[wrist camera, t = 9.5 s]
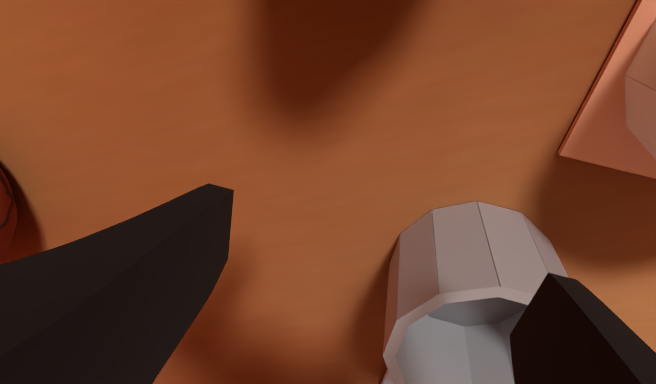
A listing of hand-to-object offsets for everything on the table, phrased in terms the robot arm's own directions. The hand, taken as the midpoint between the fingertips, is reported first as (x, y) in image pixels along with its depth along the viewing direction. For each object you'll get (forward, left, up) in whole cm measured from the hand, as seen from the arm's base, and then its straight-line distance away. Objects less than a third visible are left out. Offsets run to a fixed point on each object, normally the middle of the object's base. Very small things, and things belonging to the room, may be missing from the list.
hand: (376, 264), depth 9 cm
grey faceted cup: (-7, -6, -10) cm, 14 cm away
